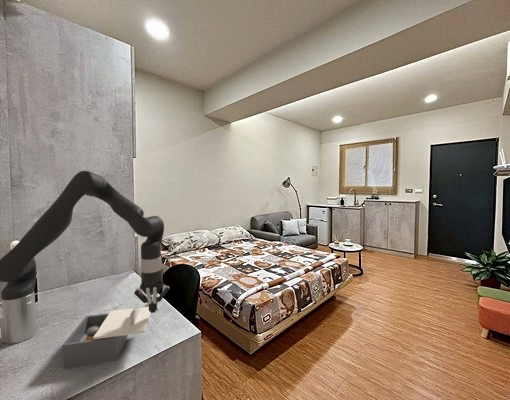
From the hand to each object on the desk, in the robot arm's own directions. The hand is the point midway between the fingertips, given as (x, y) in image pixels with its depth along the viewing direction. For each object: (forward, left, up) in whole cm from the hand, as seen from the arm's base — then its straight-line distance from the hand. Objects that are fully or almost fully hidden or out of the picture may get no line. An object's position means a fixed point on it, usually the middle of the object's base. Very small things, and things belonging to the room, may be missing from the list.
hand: (153, 311), depth 93 cm
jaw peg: (-21, 0, -11) cm, 24 cm away
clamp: (-6, +23, -12) cm, 27 cm away
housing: (-19, 0, -11) cm, 22 cm away
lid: (-10, 0, -3) cm, 10 cm away
